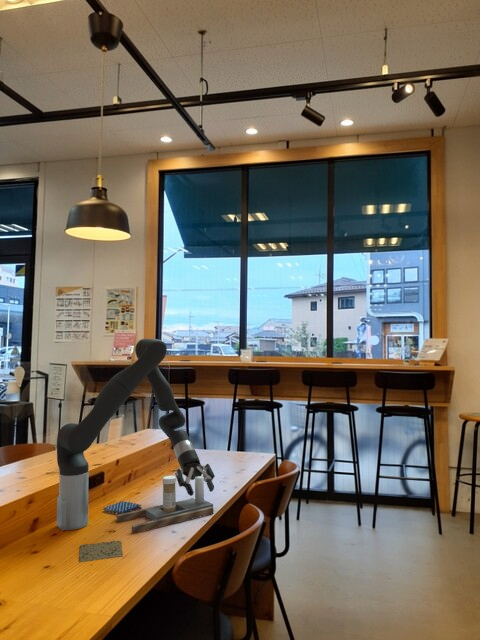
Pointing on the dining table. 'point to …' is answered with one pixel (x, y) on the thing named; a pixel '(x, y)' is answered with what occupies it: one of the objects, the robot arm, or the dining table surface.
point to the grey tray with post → (184, 503)
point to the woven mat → (122, 507)
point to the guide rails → (161, 521)
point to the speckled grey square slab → (100, 551)
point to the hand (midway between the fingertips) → (202, 492)
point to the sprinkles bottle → (169, 494)
